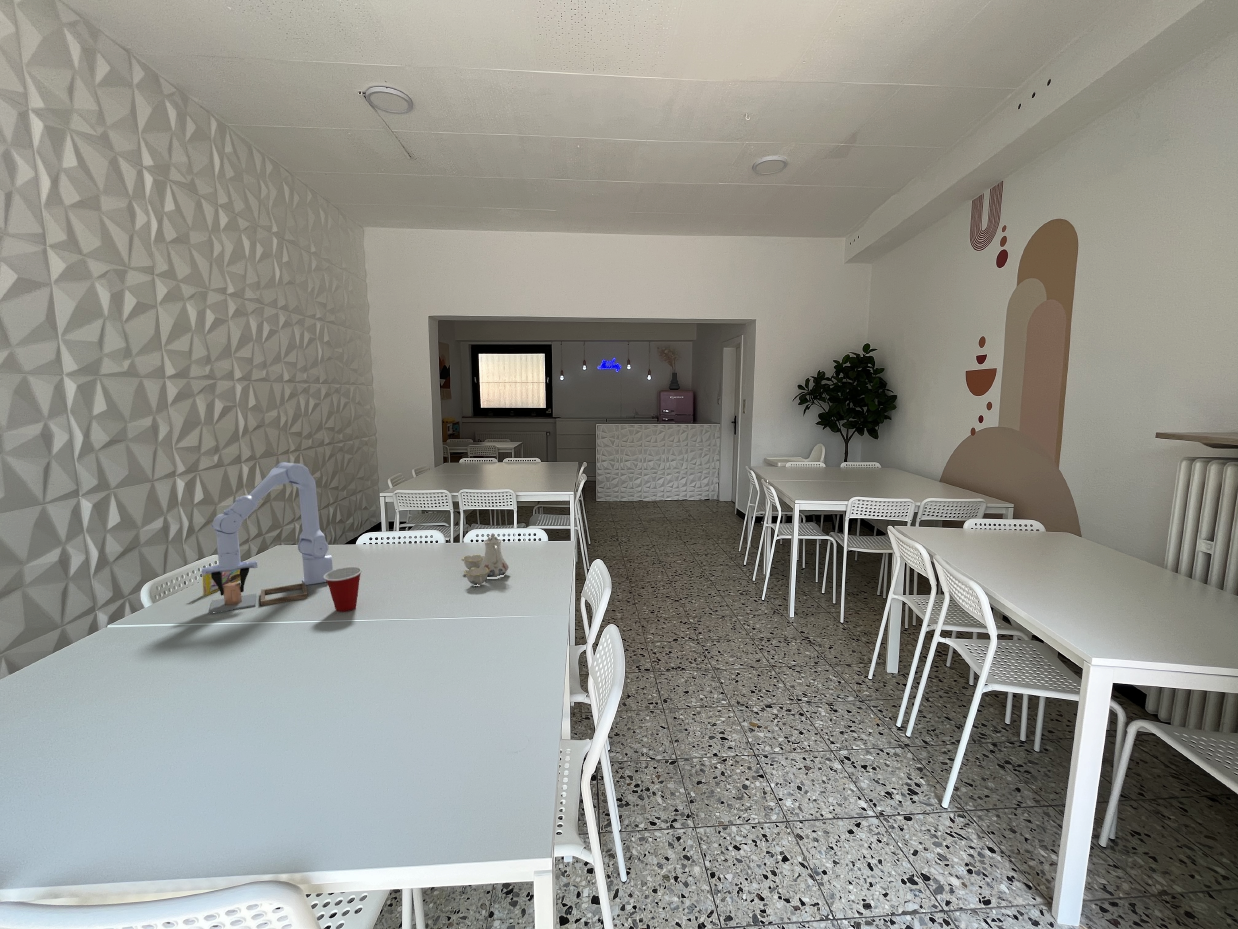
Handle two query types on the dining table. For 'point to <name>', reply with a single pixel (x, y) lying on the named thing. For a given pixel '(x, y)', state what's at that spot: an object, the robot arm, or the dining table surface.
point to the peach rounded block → (232, 593)
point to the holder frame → (285, 598)
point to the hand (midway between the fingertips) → (232, 592)
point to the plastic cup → (344, 587)
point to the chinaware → (486, 562)
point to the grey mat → (220, 605)
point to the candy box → (227, 577)
